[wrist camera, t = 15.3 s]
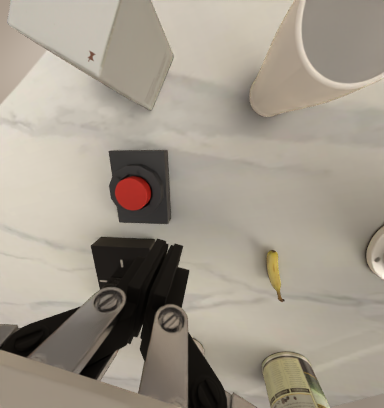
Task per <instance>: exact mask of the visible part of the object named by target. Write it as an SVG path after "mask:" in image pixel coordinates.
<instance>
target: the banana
mask: <svg viewBox="0 0 384 408" xmlns="http://www.w3.org/2000/svg"><path fill="white" fill-rule="evenodd" d="M267 270H268V275H269V279H270V282H271V284H272V286H273V287H274V289H275V290H276V291H277V295H278V299H279V301H281V302H283V301H285V300H284V299H282V298H281V295H280V287H281V283H280V276H279V270H278V254H277V252H276V251H274V250H272V251H269V252H268V254H267Z"/></svg>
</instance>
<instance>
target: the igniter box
mask: <svg viewBox="0 0 384 408" xmlns="http://www.w3.org/2000/svg"><path fill="white" fill-rule="evenodd" d="M109 157H110V163H111V170H112V180H111V182H110V185H109V187H110V194H111V198H112V200H113V202H114V203H115V205H116V206H117V210H118V217H119V222H123V223H154V224H168V223H169V221H170V219H171V209H170V188H169V168H168V150H128V151H109ZM131 176H137V177H140V178H142V179H144V180H145V181H146V182H147V183H148V184H149V186H150V189H151V198H150V200H149V202H148V203H147V204H146V205H144V206H143V207H142V208H141V209H139V210H128V209H126V208H124V207H122V206H121V205H120V204H119V203H118V201H117V199H116V196H115V189H116V186H117V184H118V183H119V182H120V181H121V180H123V179H126V178H128V177H131Z"/></svg>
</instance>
